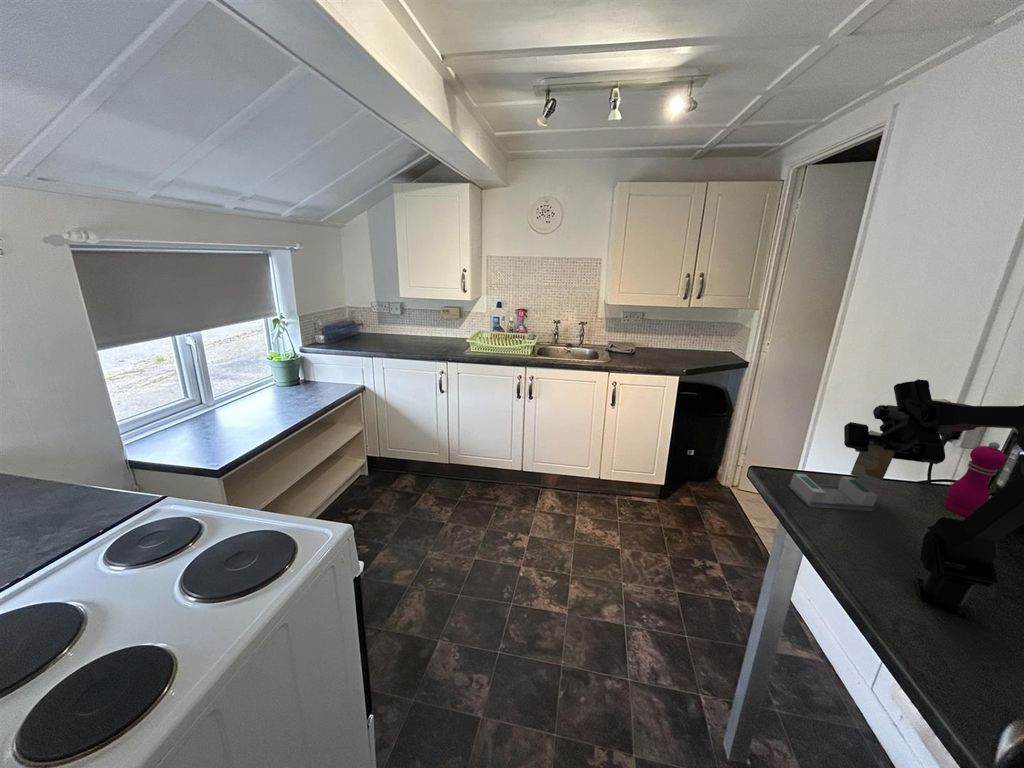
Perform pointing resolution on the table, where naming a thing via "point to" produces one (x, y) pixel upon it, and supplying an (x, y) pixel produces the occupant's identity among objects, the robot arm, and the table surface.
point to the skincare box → (873, 463)
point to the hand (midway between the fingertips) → (873, 453)
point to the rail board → (835, 499)
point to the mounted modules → (846, 485)
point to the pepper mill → (975, 480)
